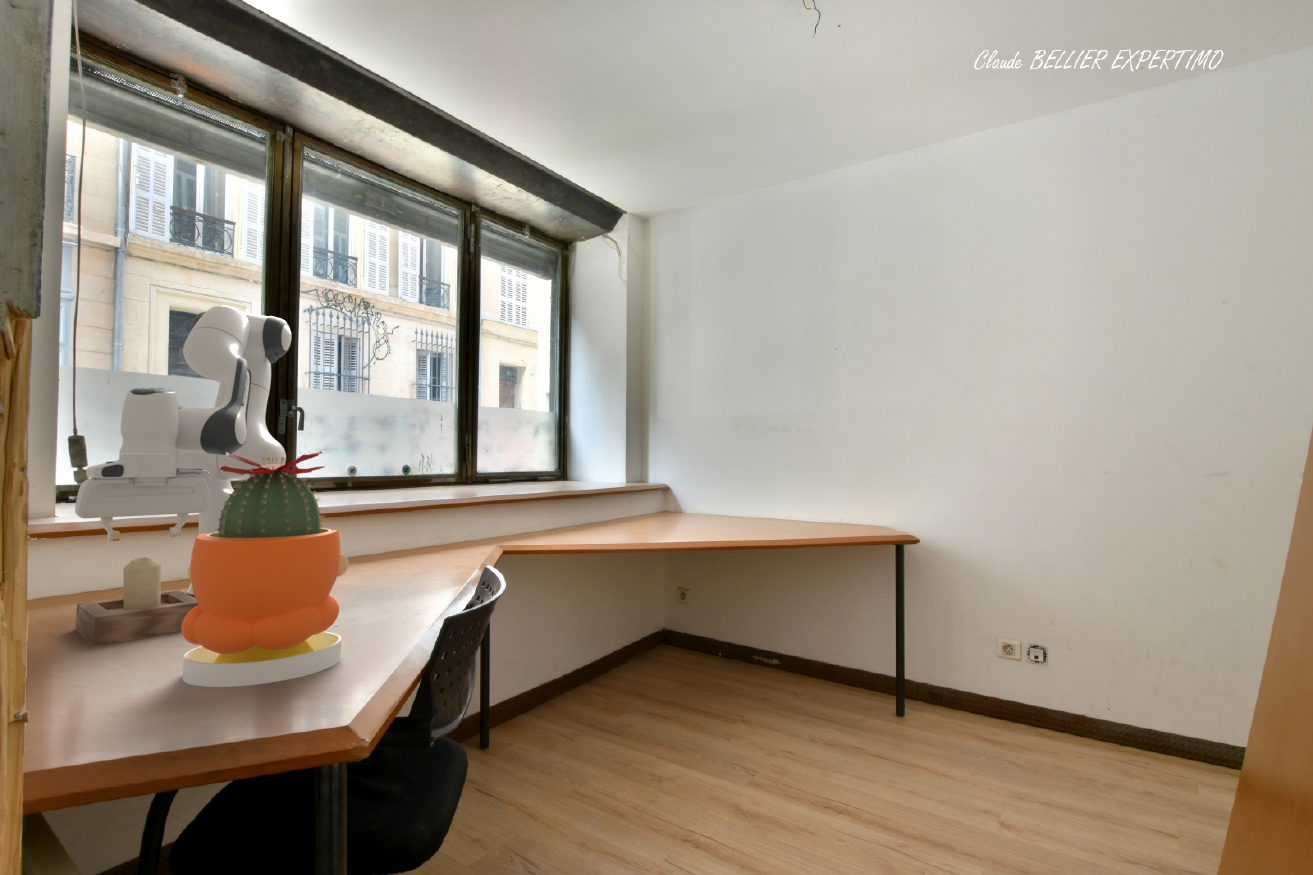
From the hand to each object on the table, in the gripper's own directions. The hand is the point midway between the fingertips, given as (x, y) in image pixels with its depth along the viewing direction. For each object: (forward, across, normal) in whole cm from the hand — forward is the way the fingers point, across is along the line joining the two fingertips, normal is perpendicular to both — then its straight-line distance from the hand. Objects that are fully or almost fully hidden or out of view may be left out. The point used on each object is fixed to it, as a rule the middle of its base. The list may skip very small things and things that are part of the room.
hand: (145, 538), depth 118 cm
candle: (+14, 0, 0) cm, 14 cm away
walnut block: (+18, 0, 0) cm, 18 cm away
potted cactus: (+17, -6, +45) cm, 49 cm away
